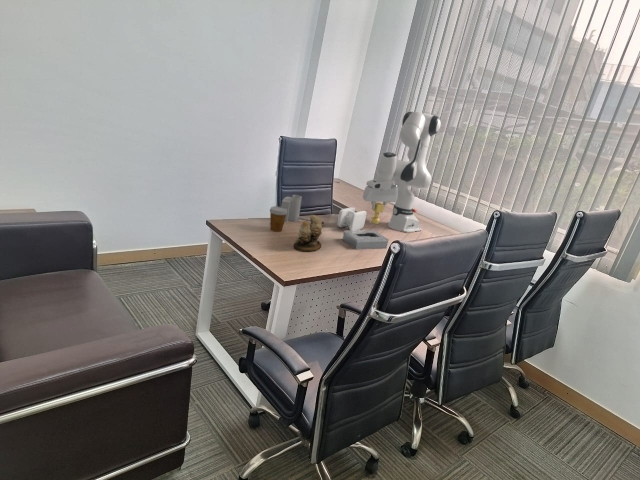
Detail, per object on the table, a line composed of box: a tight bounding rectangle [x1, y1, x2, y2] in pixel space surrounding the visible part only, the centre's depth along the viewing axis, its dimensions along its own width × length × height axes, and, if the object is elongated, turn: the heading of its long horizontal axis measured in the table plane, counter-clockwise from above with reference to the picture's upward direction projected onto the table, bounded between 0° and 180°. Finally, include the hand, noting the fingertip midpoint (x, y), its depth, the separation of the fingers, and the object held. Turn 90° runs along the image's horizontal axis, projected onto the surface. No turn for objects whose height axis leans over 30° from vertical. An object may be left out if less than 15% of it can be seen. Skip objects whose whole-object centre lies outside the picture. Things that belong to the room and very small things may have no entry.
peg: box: [370, 202, 385, 225], centre depth 217 cm, size 4×4×10 cm
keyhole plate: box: [342, 229, 389, 250], centre depth 221 cm, size 20×14×5 cm
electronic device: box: [280, 194, 325, 225], centre depth 237 cm, size 12×26×15 cm, turn 81°
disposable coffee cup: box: [269, 206, 287, 233], centre depth 218 cm, size 10×10×12 cm
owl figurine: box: [293, 214, 323, 253], centre depth 201 cm, size 18×12×17 cm, turn 148°
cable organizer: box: [336, 206, 367, 231], centre depth 241 cm, size 15×11×12 cm
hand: (377, 209), depth 216 cm, fingers closed on peg, 4 cm apart
